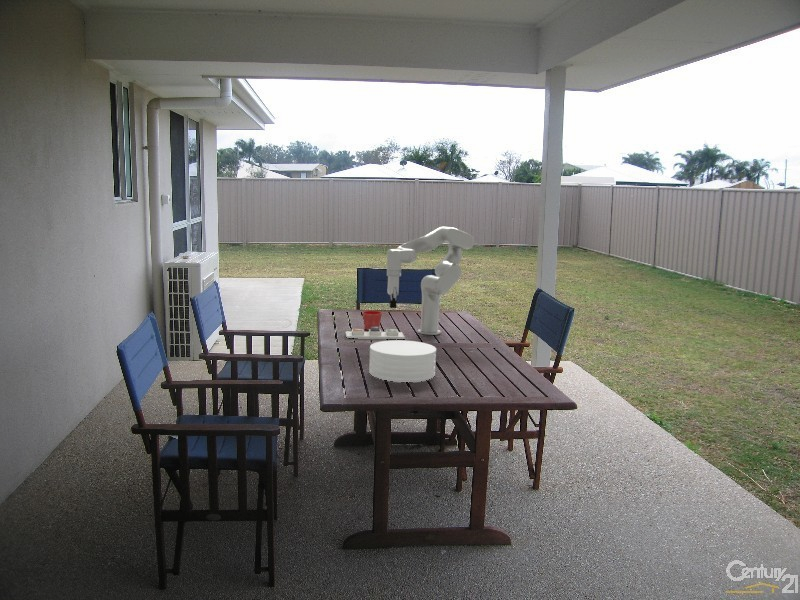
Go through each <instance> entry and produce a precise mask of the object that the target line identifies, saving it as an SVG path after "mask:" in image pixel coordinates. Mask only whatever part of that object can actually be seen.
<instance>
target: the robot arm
mask: <svg viewBox="0 0 800 600" xmlns="http://www.w3.org/2000/svg"><path fill="white" fill-rule="evenodd" d="M444 243H448V251H447V253H446V255H445V256H444V257H443V258H442V259H441V261H440V262H439V263H438V264H436V266H435V269H434V274H435V275H433V274H430V275H429V274H428V275H425V276H424V277H423V278H422V279H421V282H420V289H421V313H420V314H421V315H420V328H419V329H417V333H418V334H421V335H429V336H434V335H436V336H437V335H440V334H442V332H441V331H442V330H440V329H439V315H440V296H444V295H447V293H449V292H450V291H451V289H452V288H453V287H454V286H455V285H456V283H457V282H458V281H459V279H460V278H461V275H462V267H461V265H460V263H461V261H462V258H463V252H462V250H471V249H472V248H473V247H474V245H475V238H474V236H473V235H472V234H470V233H468V232H466V231H463V230H460V229H458V228H456V227H451V226H446V225H445V226H439V227H437V228H436V229H433V230H432V231H430V232H429V233H427V234H425V235H423V236H420V237H418V238H415V239H412V240H409V241H407V242H404V243H403V244H400V246H399V245H398V247H396V248H390V249H388V250H387V252H386V276H387V290H386V292H387V294H388V295H389V297H390V298H389V299H390V300H389V308H390V309H396V308H397V296H399V293H400V292H399V288H400V277H402V264H413V263H414V262H416V261H417V257H418V253H419V254H420V253H425V252H426V253H427V252H430V251H433V250H434V249H436V248H437V247H439V246H441V245H442V244H444Z"/></svg>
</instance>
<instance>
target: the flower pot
mask: <svg viewBox="0 0 800 600" xmlns="http://www.w3.org/2000/svg"><path fill="white" fill-rule="evenodd" d="M382 314H383V312H382V311H378V310H364V311H362V321H363V326H364V330H365V329H366V330H365V331H368V330H369V329H371V327H379V328H380V326H381V322H382V321H381V319H382V316H383V315H382Z"/></svg>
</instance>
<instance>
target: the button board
mask: <svg viewBox="0 0 800 600" xmlns="http://www.w3.org/2000/svg"><path fill="white" fill-rule="evenodd" d="M354 329H355V328H351V331H350V330H349V331H348V330H346V331H345V337H347V338H358V339H357V340H386V339H396V340H397V339H405V340H406V337H405V335H404V333H403V332H402V331H399V330H398V329H395V330H396V332H388V329H389V328H388V329H387V328H386V329H385V331H382V330H381V328H379V331H371V329H369V331H365V329H364V328H361V329H362V331H354ZM347 338H346V339H347Z"/></svg>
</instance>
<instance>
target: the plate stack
mask: <svg viewBox="0 0 800 600" xmlns="http://www.w3.org/2000/svg"><path fill="white" fill-rule="evenodd" d="M436 353H437V347H436V346H434V345H432V344H429V343H427V342H421V341H417V340H416V341H415V340H406V339H405V340H381V341H376V342H374V343H371V344H370V346H369V366H368V368H369V370H368V373H370V374H371V375H372V376H374V377H377V378H379V379H378V380H380V379H382V380H381V381H384V380H387V381H386V382H390V381H393V382H392V383H401V382H408V383H409V382H413V383H422V382H427V381H430V380H432V379H434V378H435V377H436V363H437V361H436V359H437V354H436ZM370 374H369V375H370ZM371 375H370V376H371ZM372 376H371V377H372ZM434 376H435V377H434ZM374 377H373V378H374ZM433 377H434V378H433ZM377 378H376V379H377ZM431 378H432V379H431ZM429 379H430V380H429ZM426 380H427V381H426ZM421 381H422V382H421ZM408 383H407V384H408ZM409 384H410V383H409Z"/></svg>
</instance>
